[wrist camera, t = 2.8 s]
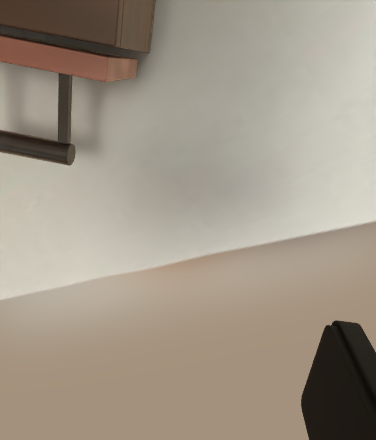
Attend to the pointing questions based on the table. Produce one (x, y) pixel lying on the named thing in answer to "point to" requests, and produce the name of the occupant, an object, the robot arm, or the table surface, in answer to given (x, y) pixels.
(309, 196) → the table surface
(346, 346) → the robot arm
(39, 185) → the table surface
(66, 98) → the drawer
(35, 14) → the cabinet
